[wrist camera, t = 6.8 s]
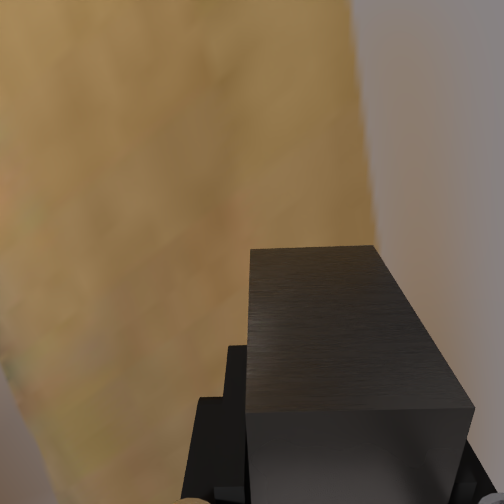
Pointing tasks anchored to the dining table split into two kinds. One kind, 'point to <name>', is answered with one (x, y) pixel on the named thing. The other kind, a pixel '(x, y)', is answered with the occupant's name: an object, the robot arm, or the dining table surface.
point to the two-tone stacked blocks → (345, 385)
